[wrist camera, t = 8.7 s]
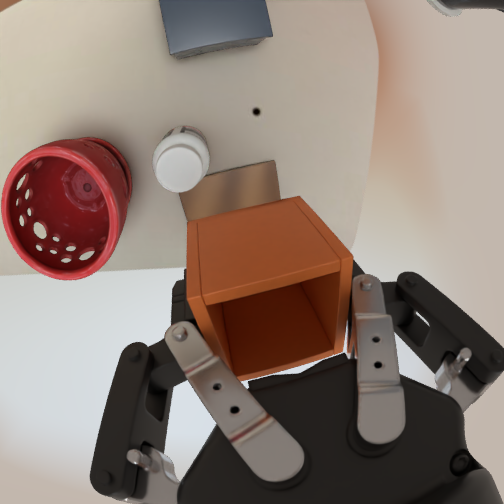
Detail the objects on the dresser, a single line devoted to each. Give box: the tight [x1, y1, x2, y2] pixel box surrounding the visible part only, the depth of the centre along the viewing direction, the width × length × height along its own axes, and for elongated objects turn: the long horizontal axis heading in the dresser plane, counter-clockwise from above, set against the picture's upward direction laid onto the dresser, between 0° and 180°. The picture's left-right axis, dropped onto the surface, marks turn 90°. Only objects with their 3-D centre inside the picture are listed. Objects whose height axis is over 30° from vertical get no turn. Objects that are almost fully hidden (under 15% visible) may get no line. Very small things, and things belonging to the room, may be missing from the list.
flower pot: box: [1, 137, 132, 280], centre depth 24 cm, size 13×13×12 cm
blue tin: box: [159, 0, 273, 60], centre depth 19 cm, size 9×9×6 cm
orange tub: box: [187, 196, 353, 381], centre depth 12 cm, size 6×6×6 cm
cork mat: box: [179, 160, 281, 222], centre depth 34 cm, size 12×8×1 cm, turn 100°
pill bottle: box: [152, 126, 210, 192], centre depth 25 cm, size 5×5×10 cm
